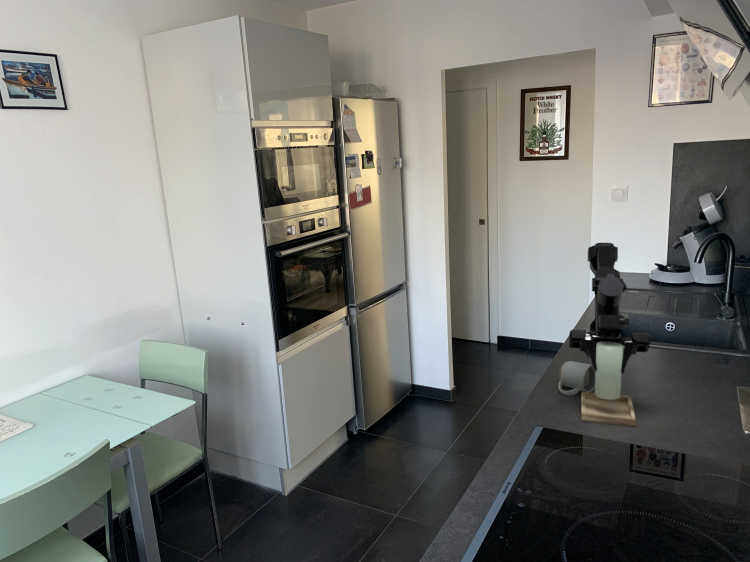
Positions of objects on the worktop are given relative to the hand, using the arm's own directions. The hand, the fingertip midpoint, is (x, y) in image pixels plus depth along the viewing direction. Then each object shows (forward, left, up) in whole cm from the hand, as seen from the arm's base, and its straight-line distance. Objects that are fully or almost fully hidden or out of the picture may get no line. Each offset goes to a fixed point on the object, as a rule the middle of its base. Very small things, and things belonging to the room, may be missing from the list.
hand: (608, 371), depth 138 cm
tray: (-1, 0, -11) cm, 11 cm away
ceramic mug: (-14, -7, -11) cm, 19 cm away
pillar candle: (-1, 0, -7) cm, 7 cm away
